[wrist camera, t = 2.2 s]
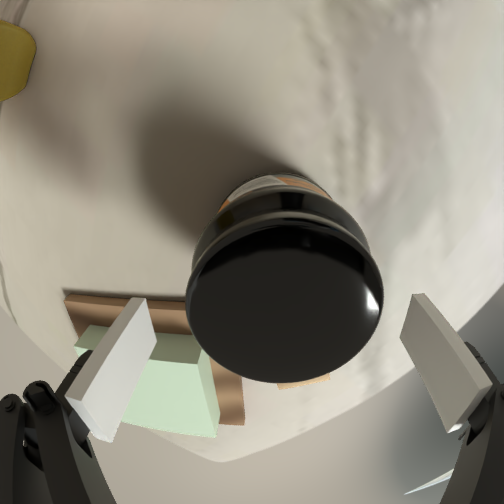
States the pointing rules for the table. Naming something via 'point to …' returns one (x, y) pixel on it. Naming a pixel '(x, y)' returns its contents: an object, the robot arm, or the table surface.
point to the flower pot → (14, 59)
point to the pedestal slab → (169, 386)
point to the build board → (163, 321)
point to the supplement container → (282, 282)
